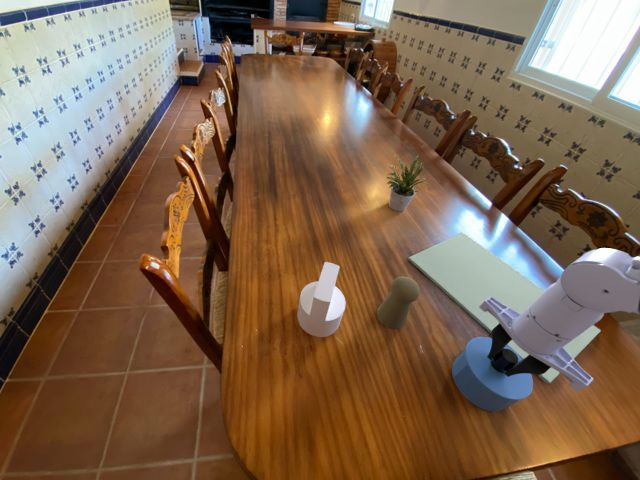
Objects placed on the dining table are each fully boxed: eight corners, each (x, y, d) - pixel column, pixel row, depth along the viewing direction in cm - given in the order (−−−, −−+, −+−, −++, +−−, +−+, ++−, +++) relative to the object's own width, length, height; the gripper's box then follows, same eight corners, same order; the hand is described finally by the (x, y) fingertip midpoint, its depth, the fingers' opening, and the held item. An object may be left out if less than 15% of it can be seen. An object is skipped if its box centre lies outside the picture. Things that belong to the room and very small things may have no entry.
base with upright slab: (335, 343, 57) (347, 308, 50) (291, 328, 59) (296, 292, 52) (343, 305, 64) (355, 270, 56) (304, 293, 66) (310, 256, 58)
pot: (520, 393, 53) (540, 379, 49) (488, 423, 49) (508, 411, 45) (472, 346, 59) (487, 331, 55) (440, 370, 55) (454, 355, 51)
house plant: (378, 186, 102) (392, 142, 91) (419, 198, 98) (439, 153, 88) (370, 209, 91) (384, 162, 81) (416, 223, 88) (437, 176, 77)
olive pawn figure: (409, 329, 61) (429, 298, 54) (380, 328, 61) (396, 296, 54) (401, 304, 65) (418, 272, 58) (374, 302, 65) (388, 270, 58)
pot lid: (541, 381, 49) (559, 369, 46) (507, 415, 45) (525, 404, 42) (484, 330, 56) (497, 317, 53) (450, 356, 52) (462, 342, 49)
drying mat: (598, 332, 64) (601, 330, 63) (547, 384, 54) (550, 382, 54) (460, 234, 85) (462, 232, 85) (407, 259, 76) (408, 257, 76)
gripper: (629, 352, 38) (559, 393, 46) (516, 272, 47) (475, 318, 56) (606, 380, 35) (536, 418, 43) (490, 288, 44) (452, 335, 53)
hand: (500, 363), depth 49 cm, fingers closed on pot lid, 2 cm apart
